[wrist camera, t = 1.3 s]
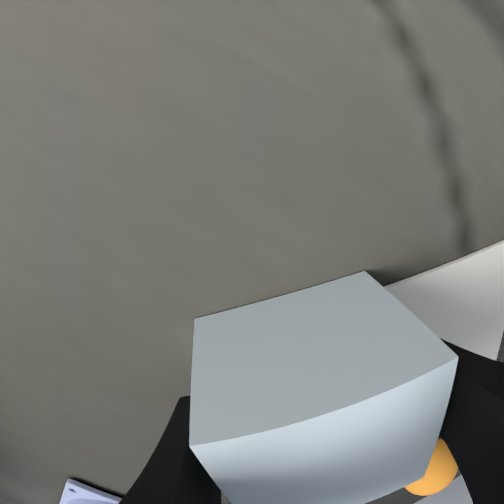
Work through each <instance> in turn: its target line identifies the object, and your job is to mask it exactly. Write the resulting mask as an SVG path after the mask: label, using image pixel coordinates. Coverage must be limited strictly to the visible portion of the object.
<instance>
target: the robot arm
mask: <svg viewBox="0 0 504 504" xmlns="http://www.w3.org/2000/svg"><path fill="white" fill-rule="evenodd" d="M440 339H441V338H440ZM441 340H442V341H443V342H444V343H445V344H446V345H447V346H448V347H449V348H450V349H451V350H452V351H453V352H454V353H455V354H456V355H457V356H458V357H459V358H458V363H457V368H456V373H455V377H454V382H453V386H452V390H451V394H450V398H449V402H448V406H447V410H446V413H445V417H444V420H443V424H442V427H441V430H440V433H439V434H440V435H441V437H442V438H443V440H444V442H445V443H446V445H447V447H448V448H449V450H450V452H451V454H452V456H453V458H454V460H455V462H456V464H457V466H458V468H459V470H460V472H461V474H462V476H463V478H464V481H465V483H466V486H467V488H468V490H469V493H470V496H471V498H472V501H473V504H504V363H503V362H499V361H496V360H493V359H490V358H487V357H484V356H481V355H478V354H476V353H473V352H471V351H468V350H466V349H463V348H461V347H459V346H456V345H454V344H452V343H450V342H447V341H445V340H443V339H441ZM190 398H191V396H185V397H180V399H179V400H178V403H177V405H176V407H175V409H174V412H173V414H172V416H171V418H170V420H169V423H168V425H167V427H166V429H165V431H164V433H163V435H162V437H161V439H160V441H159V443H158V445H157V447H156V449H155V451H154V452H153V454H152V456H151V457H150V459H149V461H148V463H147V464H146V466H145V468H144V469H143V471H142V472H141V474H140V476H139V477H138V479H137V480H136V481H135V483H134V484H133V486H132V487H131V488H130V490H129V491H128V492H127V493H126V495H125V496H124V497H123V498H119V497H116V496H114V495H111V494H108V493H105V492H103V491H100V490H97V489H95V488H92V487H90V486H87V485H85V484H82V483H80V482H78V481H75V480H72V479H68V480H67V481H66V484H65V487H64V491H63V494H62V497H61V500H60V503H59V504H221V490H220V489H219V487H218V486H217V485H216V483H215V482H214V481H213V479H212V478H211V477H210V475H209V474H208V472H207V471H206V470H205V468H204V467H203V465H202V464H201V463H200V461H199V460H198V458H197V457H196V455H195V454H194V453H193V451H192V450H191V448H190V447H189V430H190Z"/></svg>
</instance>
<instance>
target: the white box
mask: <svg viewBox="0 0 504 504" xmlns="http://www.w3.org/2000/svg"><path fill="white" fill-rule="evenodd" d="M458 358H459V357H458V356H457V355H456V354H455V353H454V352H453V351H452V350H451V349H450V348H449V347H448V346H447V345H446V344H445V343H444V342H443V341H442V340H441V339H440V338H439V337H438V336H436V335H435V334H434V333H433V332H432V331H431V330H430V329H429V328H428V327H427V326H426V325H425V324H424V323H423V322H422V321H420V320H419V319H418V318H417V317H416V316H415V315H414V314H413V313H412V312H411V311H410V310H408V309H407V308H406V307H405V306H404V305H403V304H402V303H401V302H400V301H398V300H397V299H396V298H395V297H394V296H393V295H392V294H391V293H390V292H388V291H387V290H386V289H385V288H384V287H383V286H382V285H380V284H379V283H378V282H377V281H376V280H375V279H374V278H372V277H371V276H370V275H369V274H368V273H367V272H366V271H363V272H360V273H356V274H353V275H350V276H347V277H343V278H340V279H337V280H334V281H330V282H327V283H324V284H320V285H317V286H314V287H310V288H307V289H303V290H300V291H296V292H293V293H289V294H286V295H282V296H279V297H275V298H272V299H268V300H264V301H261V302H257V303H253V304H250V305H246V306H242V307H238V308H235V309H231V310H227V311H223V312H219V313H215V314H211V315H207V316H204V317H200V318H195V323H194V338H193V355H192V375H191V398H190V430H189V447H190V448H191V450H192V451H193V453H194V454H195V455H196V457H197V458H198V460H199V461H200V463H201V464H202V465H203V467H204V468H205V470H206V471H207V472H208V474H209V475H210V477H211V478H212V479H213V481H214V482H215V483H216V485H217V486H218V487H219V489H220V490H221V491H222V492H223V494H224V495H225V496H226V498H227V499H228V500H229V501H230V503H231V504H365V503H368V502H370V501H373V500H375V499H378V498H380V497H383V496H385V495H387V494H390V493H392V492H394V491H396V490H399V489H401V488H403V487H405V486H407V485H409V484H411V483H413V482H416V481H418V480H420V479H421V478H423V477H424V475H425V473H426V470H427V468H428V465H429V462H430V460H431V457H432V454H433V451H434V449H435V446H436V443H437V440H438V437H439V433H440V430H441V427H442V424H443V420H444V417H445V413H446V410H447V406H448V402H449V398H450V394H451V390H452V386H453V382H454V377H455V373H456V368H457V363H458Z"/></svg>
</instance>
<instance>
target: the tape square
mask: <svg viewBox="0 0 504 504" xmlns="http://www.w3.org/2000/svg"><path fill="white" fill-rule="evenodd" d="M384 288H385V289H386V290H387V291H388V292H390V293H391V294H392V295H393V296H394V297H395V298H396V299H397V300H398V301H400V302H401V303H402V304H403V305H404V306H405V307H406V308H407V309H408V310H410V311H411V312H412V313H413V314H414V315H415V316H416V317H417V318H418V319H419V320H420V321H422V322H423V323H424V324H425V325H426V326H427V327H428V328H429V329H430V330H431V331H432V332H433V333H434V334H435V335H436V336H438V337H439V338H441V339H443V340H445V341H447V342H450V343H452V344H454V345H456V346H459V347H461V348H463V349H466V350H468V351H471V352H473V353H476V354H478V355H481V356H484V357H487V358H490V359H493V360H496V359H497V355H498V351H499V348H500V344H501V339H502V335H503V331H504V240H502V241H500V242H497V243H495V244H493V245H490V246H488V247H486V248H483V249H481V250H478V251H476V252H474V253H471V254H469V255H466V256H464V257H461V258H459V259H456V260H454V261H451V262H449V263H446V264H444V265H441V266H439V267H436V268H433V269H431V270H428V271H425V272H423V273H420V274H417V275H415V276H412V277H409V278H406V279H404V280H401V281H398V282H395V283H392V284H390V285H387V286H384Z"/></svg>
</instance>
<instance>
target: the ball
mask: <svg viewBox="0 0 504 504" xmlns="http://www.w3.org/2000/svg"><path fill="white" fill-rule="evenodd" d="M457 470H458V466H457V464H456V462H455V460H454V458H453V456H452V454H451V452H450V450H449V448H448V447H447V445H446V443H445V442H444V440H443V439H439V438H438V440H437V443H436V446H435V449H434V451H433V454H432V457H431V460H430V462H429V465H428V468H427V470H426V473H425V475H424V477H423V478H421V479H420V480H418V481H416V482H413V483H411V484H409V485H407V486H405V488H406V489H407V490H408V491H409V492H411V493H413V494H416V495H421V496H426V495H431V494H434V493H437V492H439V491H441V490H443V489H444V488H445V487H447V486H448V485H449V484H450V483H451V481H452V480H453V479H454V477H455V475H456V473H457Z"/></svg>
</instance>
